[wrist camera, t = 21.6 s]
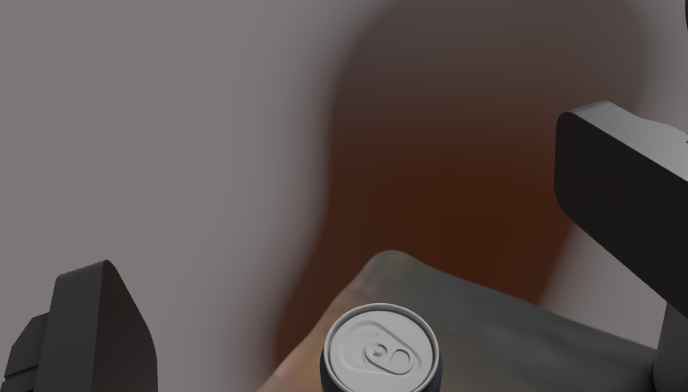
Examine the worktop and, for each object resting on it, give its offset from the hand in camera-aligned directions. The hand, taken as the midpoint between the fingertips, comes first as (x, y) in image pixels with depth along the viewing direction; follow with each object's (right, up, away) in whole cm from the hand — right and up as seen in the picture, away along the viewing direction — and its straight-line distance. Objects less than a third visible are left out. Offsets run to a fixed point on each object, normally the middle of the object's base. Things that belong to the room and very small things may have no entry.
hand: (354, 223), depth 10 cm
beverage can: (+2, -19, +28) cm, 34 cm away
